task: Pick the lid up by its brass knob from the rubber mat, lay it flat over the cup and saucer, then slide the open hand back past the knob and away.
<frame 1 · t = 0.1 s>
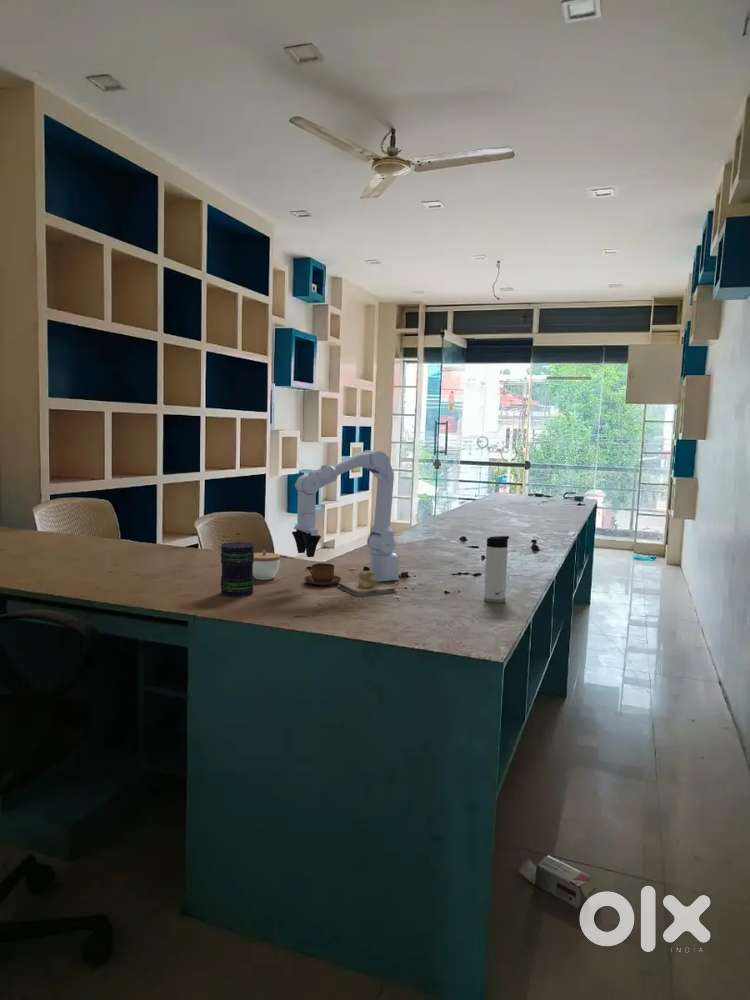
hand: (305, 554, 220), 10 cm above the worktop, tool pointing down, fingers open, 7 cm apart
cup and saucer: (322, 584, 225), on the worktop
lid: (366, 588, 217), point 1 cm above the worktop, touching mat
travel mug: (495, 601, 207), on the worktop
mat: (366, 590, 217), on the worktop
lidded jar: (264, 578, 231), on the worktop
storage jar: (237, 594, 208), on the worktop
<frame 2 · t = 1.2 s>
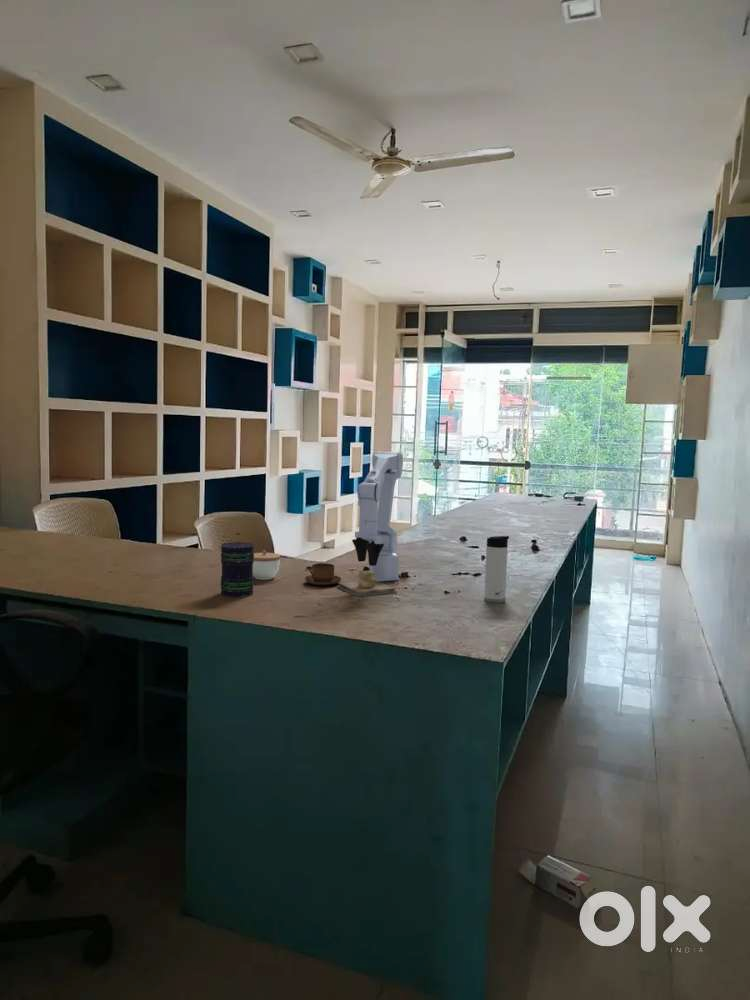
hand: (367, 563, 216), 9 cm above the worktop, tool pointing down, fingers open, 7 cm apart
nothing on the worktop moved.
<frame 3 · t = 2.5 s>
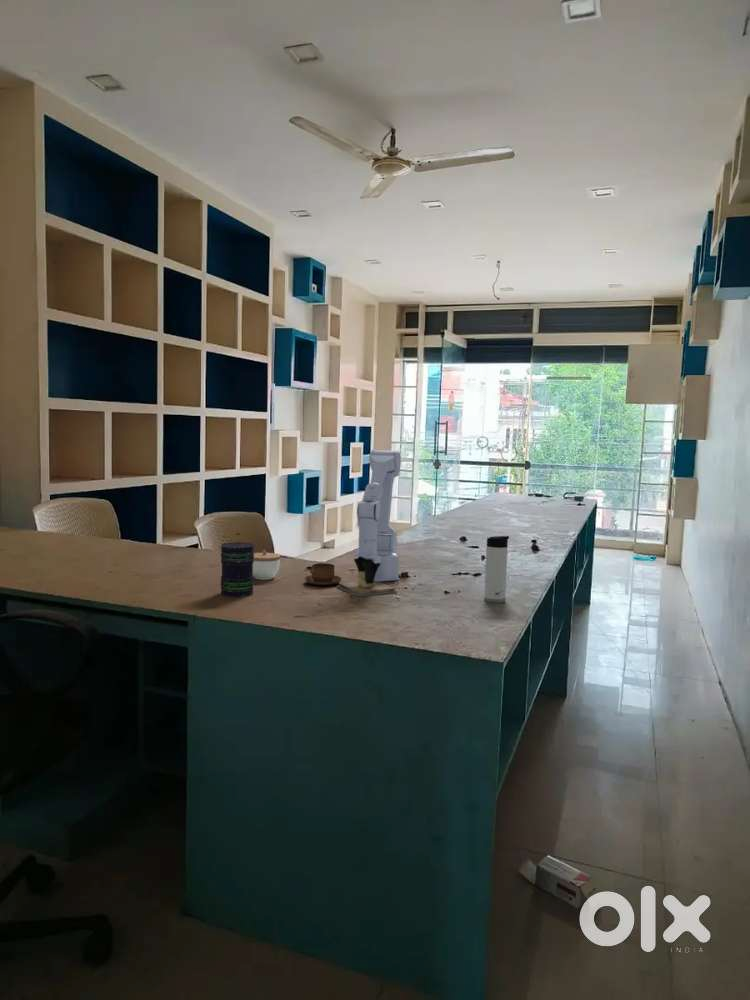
hand: (366, 581, 217), 3 cm above the worktop, tool pointing down, fingers closed on lid, 4 cm apart
lid: (366, 588, 217), point 1 cm above the worktop, touching gripper, mat
everything else where it was.
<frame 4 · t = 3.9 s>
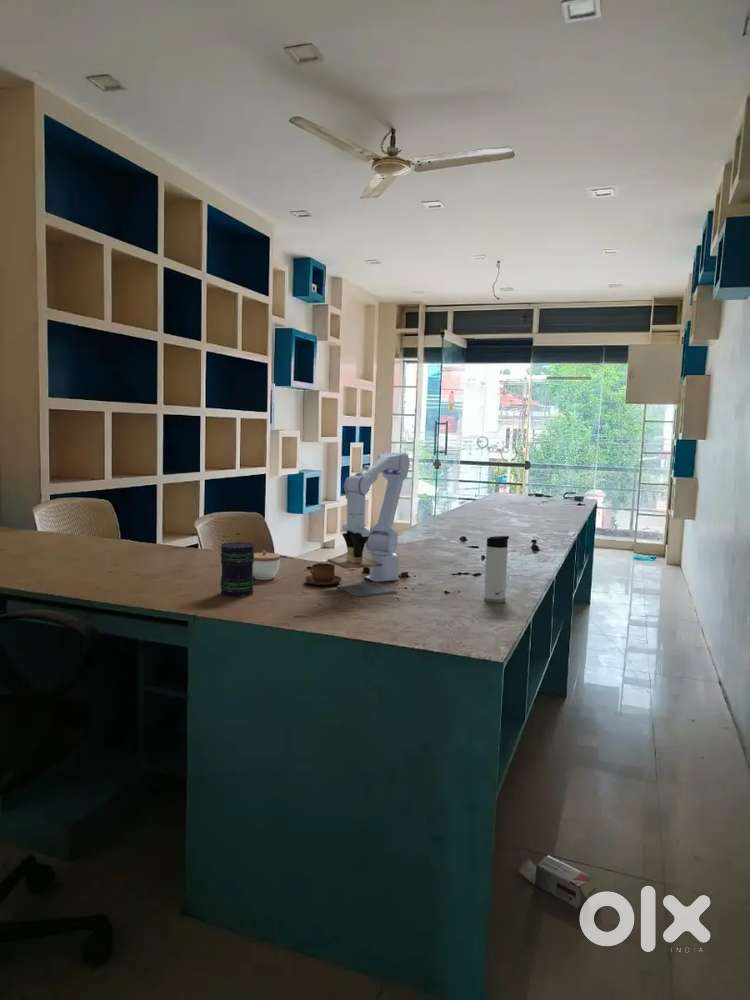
hand: (354, 556, 218), 10 cm above the worktop, tool pointing down, fingers closed on lid, 4 cm apart
lid: (354, 563, 219), point 8 cm above the worktop, touching gripper
everything else where it was.
when the fingers open (9 cm above the worktop, at t = 5.3 s): lid stays where it is, resting on cup and saucer.
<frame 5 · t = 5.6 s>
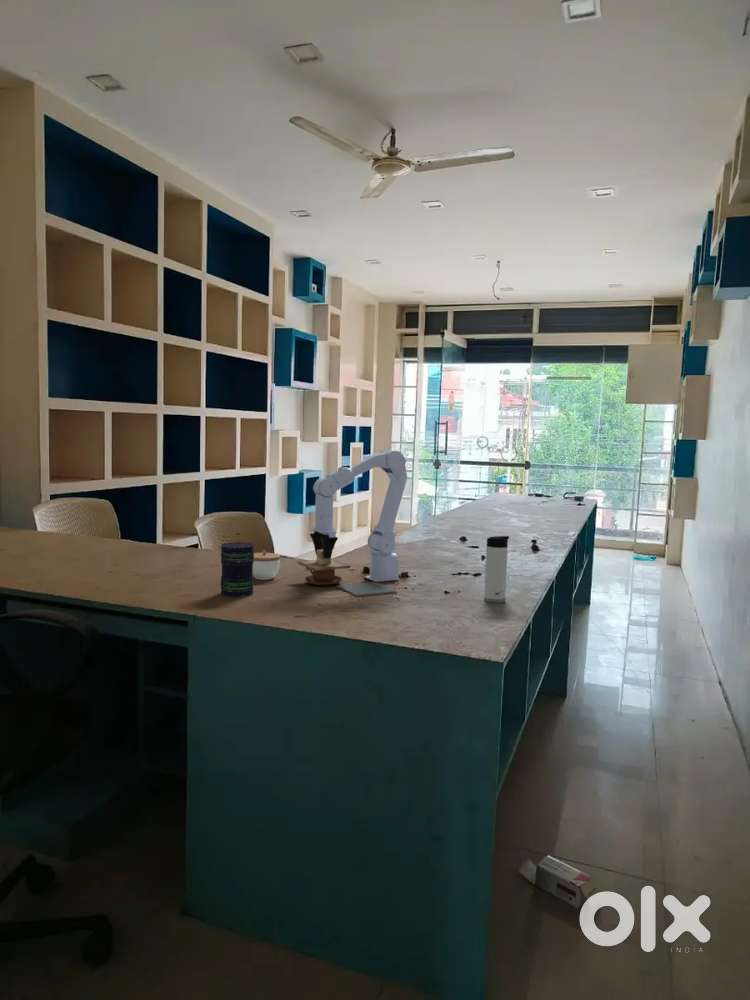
hand: (323, 556, 224), 9 cm above the worktop, tool pointing down, fingers open, 6 cm apart
cup and saucer: (323, 584, 225), on the worktop, touching lid
lid: (323, 565, 225), point 6 cm above the worktop, touching cup and saucer
everything else where it was.
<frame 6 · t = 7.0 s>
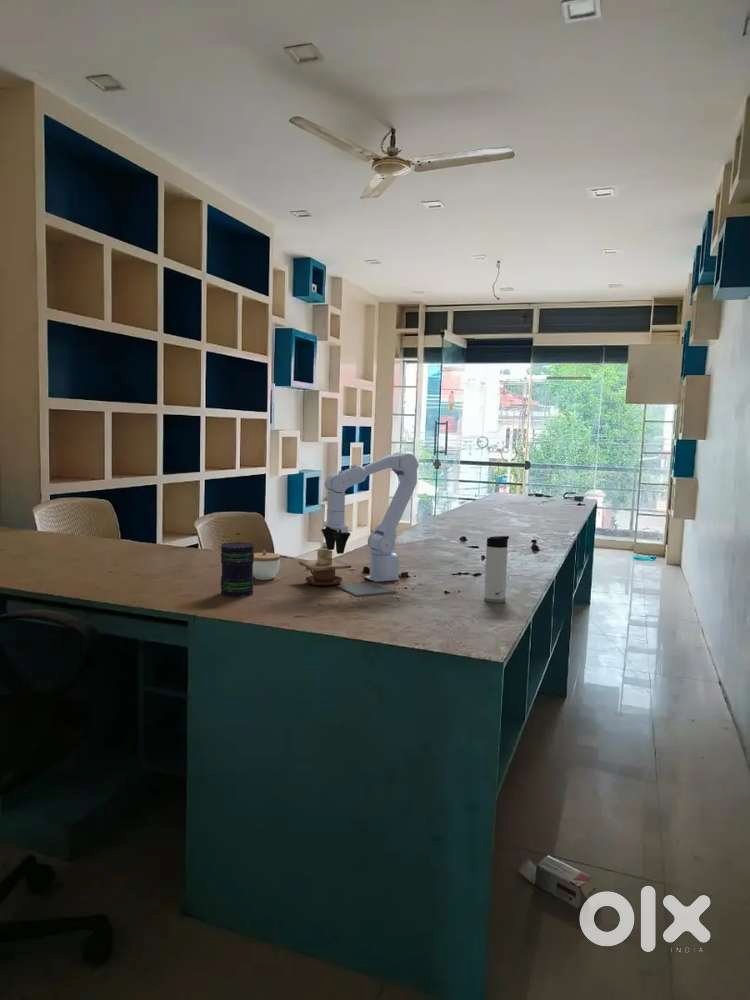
hand: (335, 551, 226), 10 cm above the worktop, tool pointing down, fingers open, 7 cm apart
nothing on the worktop moved.
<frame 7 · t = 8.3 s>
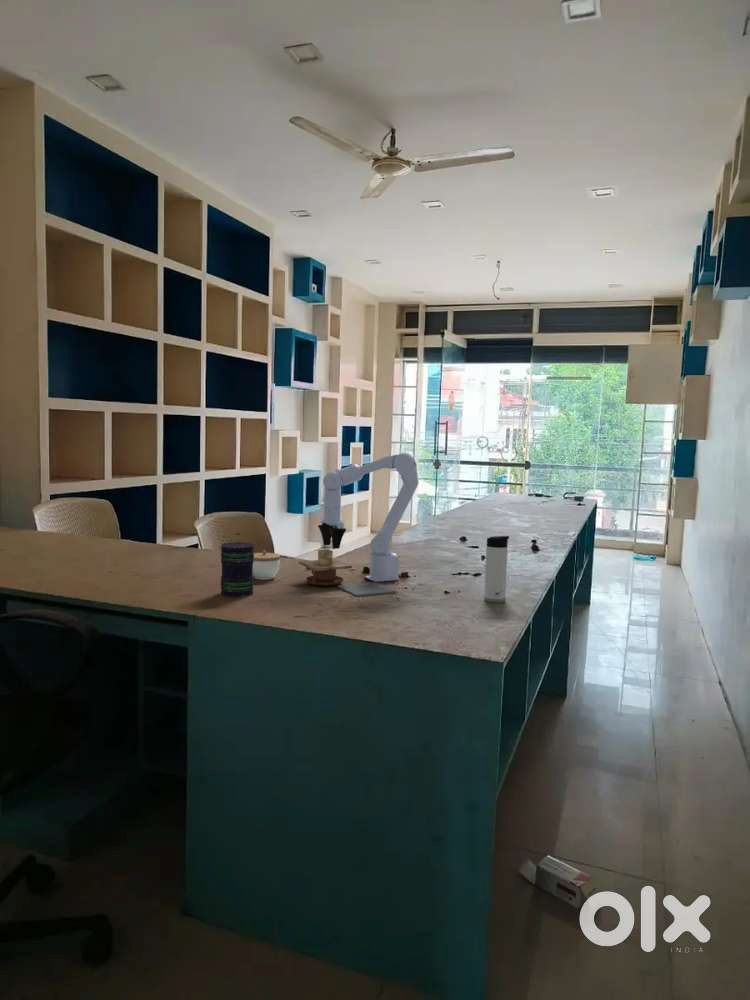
hand: (331, 546, 235), 10 cm above the worktop, tool pointing down, fingers open, 7 cm apart
nothing on the worktop moved.
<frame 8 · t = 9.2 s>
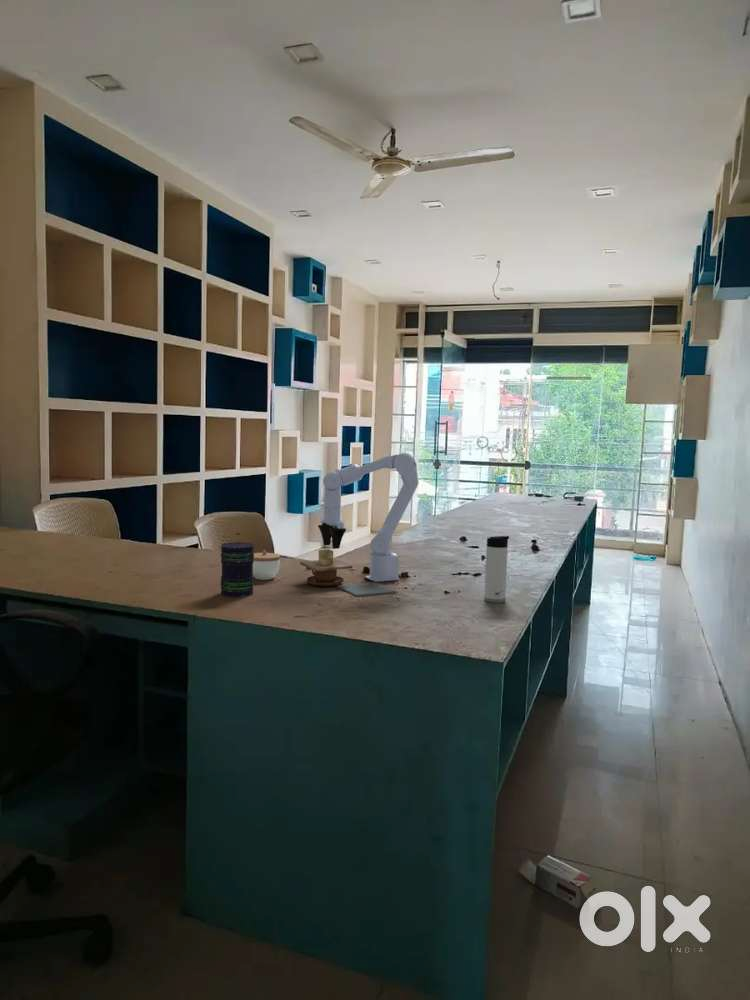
hand: (331, 546, 235), 10 cm above the worktop, tool pointing down, fingers open, 7 cm apart
nothing on the worktop moved.
at the end: lid 0.1 cm off-centre on the cup and saucer, point 6.4 cm above the cup and saucer's base; lid tilted 0°; the gripper is holding nothing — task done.
